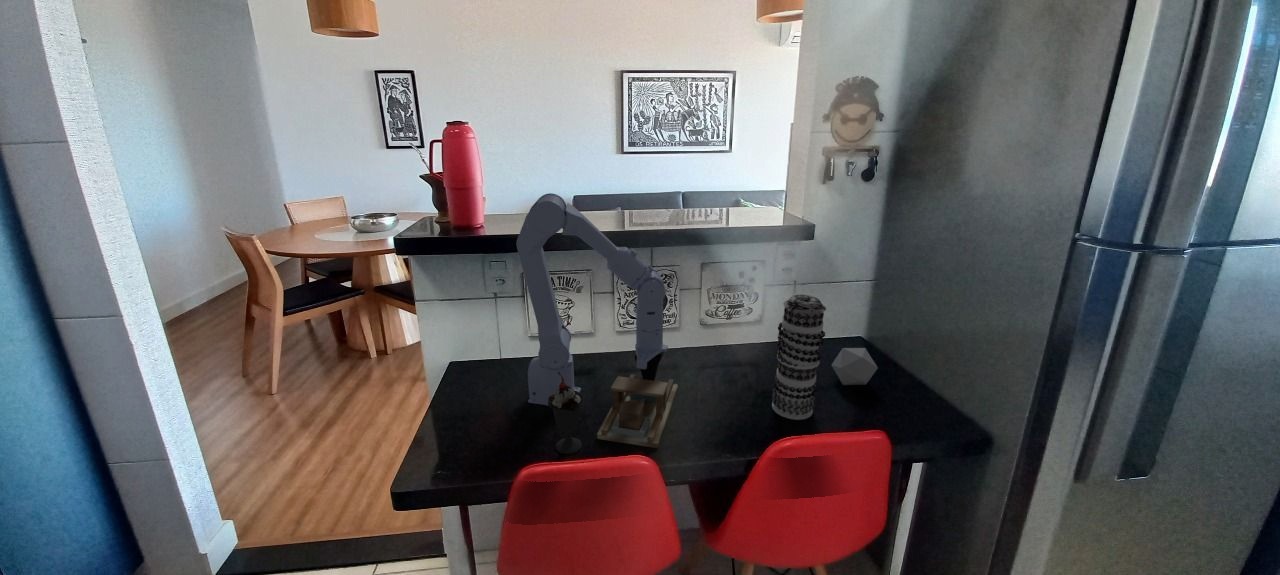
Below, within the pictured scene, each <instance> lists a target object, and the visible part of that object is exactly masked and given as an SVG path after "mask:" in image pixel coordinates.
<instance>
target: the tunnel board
mask: <svg viewBox="0 0 1280 575" xmlns="http://www.w3.org/2000/svg"><path fill="white" fill-rule="evenodd" d="M635 378H636V374H633V373H631V374H630V375H629V377H625V376H618V375H617V377H616V378H615V380H614V382H613V384H612V385H611V387H610V391H611V407H610V409H609V410H608V413H607V415H606V417H605V418H604V420H603V422H602V424H601V426H600V427H599V430H598V432H597V433H596V439H597V440H603V441H610V442H615V443H621V444H629V445H636V446H642V447H648V448H654V449H659V447H660V443H661V440H662V436H663V435H664V434H663V433H664V431H665V428H666V425H667V423H668V418H669V416H670V413H671V410H672V407H673V403H674V402H675V398H676V394H677V392H678V387H679V384H677V383H674V379H673V378H669V379H668V381H667V382H666V381H658V380H655V381H651V380H643V378H636V379H635ZM630 393H634V394H641V395H649V396H656V402H649V401H645V403H644V417H650V420H651V422H650V425H649V428H648V430H647V433H646V435H645V438H641V437H634V436H628V435H621V434H615V433H612V427H614V426H615V424H616V422H617V420H618V418H619V410H620V408H621V406H622V404H623V402H624V401H631V402H638V403H640V401H641V400H634V399H630Z"/></svg>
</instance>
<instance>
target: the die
mask: <svg viewBox="0 0 1280 575" xmlns="http://www.w3.org/2000/svg"><path fill="white" fill-rule="evenodd" d="M831 367H832V368H833V371H834V372H835V374H836V375H837V377H838V379H839V380H840V382H841V385H843V386H866V385H867V383H868V382H869V381H870V380H871V378H872V376H873V375H874V374H875V373H876V371H877V370H878V369H879V367H878V366H877V364H876V362H875V361H874V360H873V358H872V357H871V354H870V353H869V351H868V350H867V348H866V347H842V348H841V350H840V351H839V352H838V354H837V356H836V357H835V359H834V361H833V362H832V363H831Z"/></svg>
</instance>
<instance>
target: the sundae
mask: <svg viewBox="0 0 1280 575" xmlns="http://www.w3.org/2000/svg"><path fill="white" fill-rule="evenodd" d="M558 374H559V375H560V372H558ZM560 376H561V375H560ZM561 377H562V376H561ZM583 395H584V394H582V393H581V392H577V391H574V390H573V389H572V388H571V387H569V386H566V383H564V379H563V377H562V383H560V385H559V389H558V390H557V391H556V393H555V394H553V395H551V396H550V397H549V398H548V405H547V406H548V407H549V408H550V409H552V410H553V415H554V420H555V424H556V426H557V428H558V430H560V431H561V432H564V436H565V437H564V438H561V439H560V440H559V441H558V442H557V443H556V444H555V449H556V451H557V452H558V453H560V454H563V455H572V454H576V453H577V452H579V451H580V450H581V449H582V447H583V443H582V441H581V440H580V439H579V438H576V437H573V435H572V432H573V431H575V429H576V428H577V427H578V426H579V422H580V413H581V407H582V405H583V404H584V402H585V399H586V398H585V396H583Z"/></svg>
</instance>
